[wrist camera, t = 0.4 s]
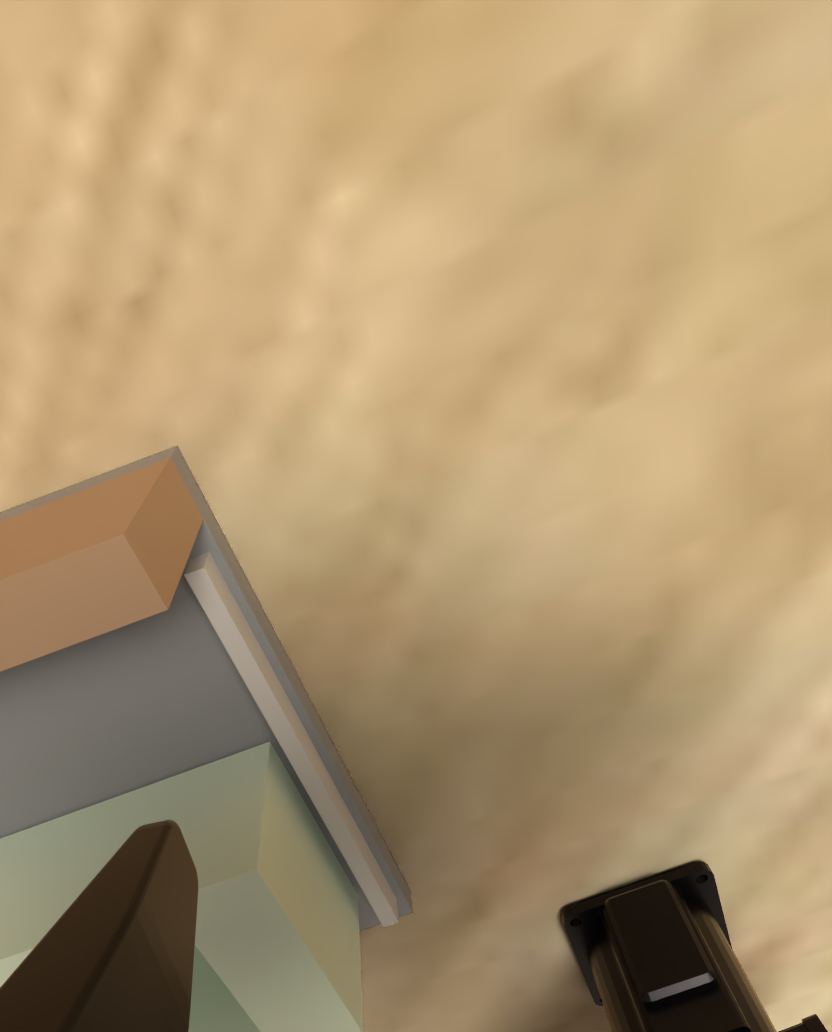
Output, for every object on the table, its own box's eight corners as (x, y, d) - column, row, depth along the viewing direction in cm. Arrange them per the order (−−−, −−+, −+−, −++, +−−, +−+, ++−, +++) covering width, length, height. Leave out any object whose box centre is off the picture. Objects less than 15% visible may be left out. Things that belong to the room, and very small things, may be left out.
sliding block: (357, 894, 27) (363, 1034, 23) (112, 980, 27) (69, 1135, 23) (270, 741, 24) (256, 869, 19) (-8, 841, 24) (-86, 989, 20)
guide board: (410, 890, 29) (429, 1050, 23) (110, 994, 29) (60, 1176, 24) (177, 445, 21) (123, 534, 15) (-234, 600, 21) (-431, 741, 16)
